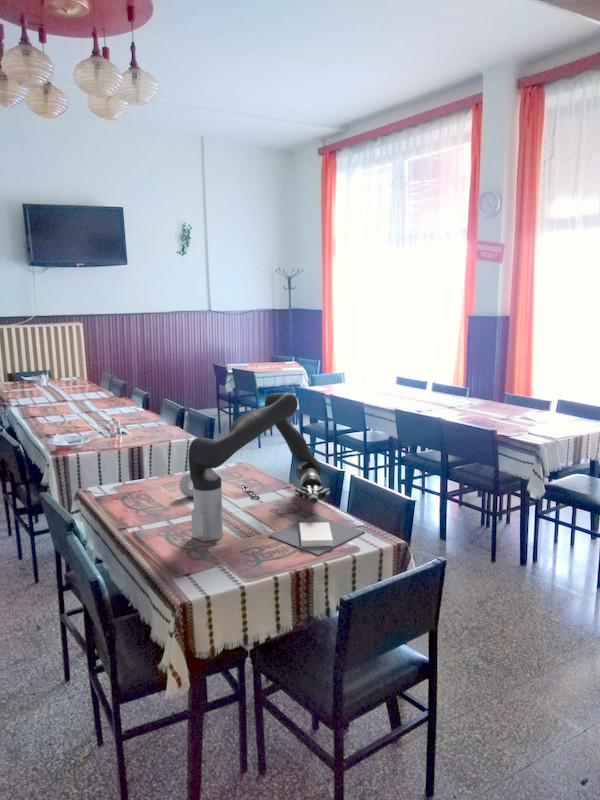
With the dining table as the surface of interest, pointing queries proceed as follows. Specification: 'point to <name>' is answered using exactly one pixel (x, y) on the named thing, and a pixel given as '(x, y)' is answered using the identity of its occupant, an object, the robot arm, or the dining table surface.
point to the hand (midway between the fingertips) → (313, 500)
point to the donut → (186, 485)
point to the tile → (315, 534)
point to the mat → (338, 530)
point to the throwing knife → (252, 494)
